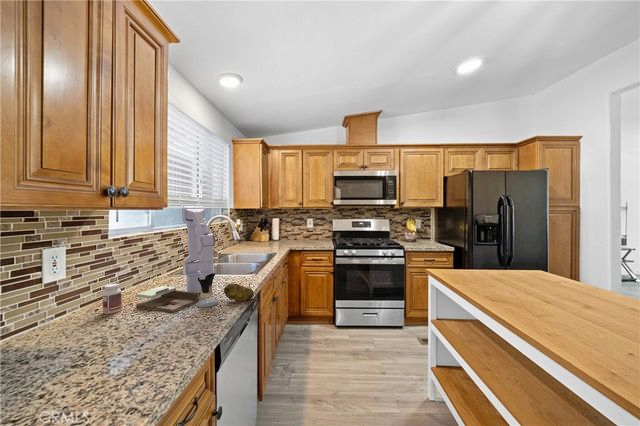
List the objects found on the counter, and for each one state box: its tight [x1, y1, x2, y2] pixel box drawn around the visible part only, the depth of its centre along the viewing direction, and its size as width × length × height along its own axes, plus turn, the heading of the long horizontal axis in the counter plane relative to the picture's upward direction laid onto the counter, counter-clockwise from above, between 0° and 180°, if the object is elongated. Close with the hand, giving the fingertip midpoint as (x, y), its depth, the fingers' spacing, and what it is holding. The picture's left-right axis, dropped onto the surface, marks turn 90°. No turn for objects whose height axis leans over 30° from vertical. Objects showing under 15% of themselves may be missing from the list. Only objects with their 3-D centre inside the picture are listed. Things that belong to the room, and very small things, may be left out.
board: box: [135, 289, 200, 314], centre depth 117 cm, size 14×21×4 cm, turn 71°
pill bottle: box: [102, 283, 123, 315], centre depth 109 cm, size 6×6×11 cm
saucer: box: [195, 298, 219, 309], centre depth 117 cm, size 9×9×1 cm
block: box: [200, 285, 213, 298], centre depth 116 cm, size 4×4×4 cm
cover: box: [135, 285, 177, 300], centre depth 118 cm, size 12×9×2 cm
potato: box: [223, 282, 255, 302], centre depth 121 cm, size 8×13×8 cm, turn 92°
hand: (207, 291), depth 116 cm, fingers closed on block, 4 cm apart
